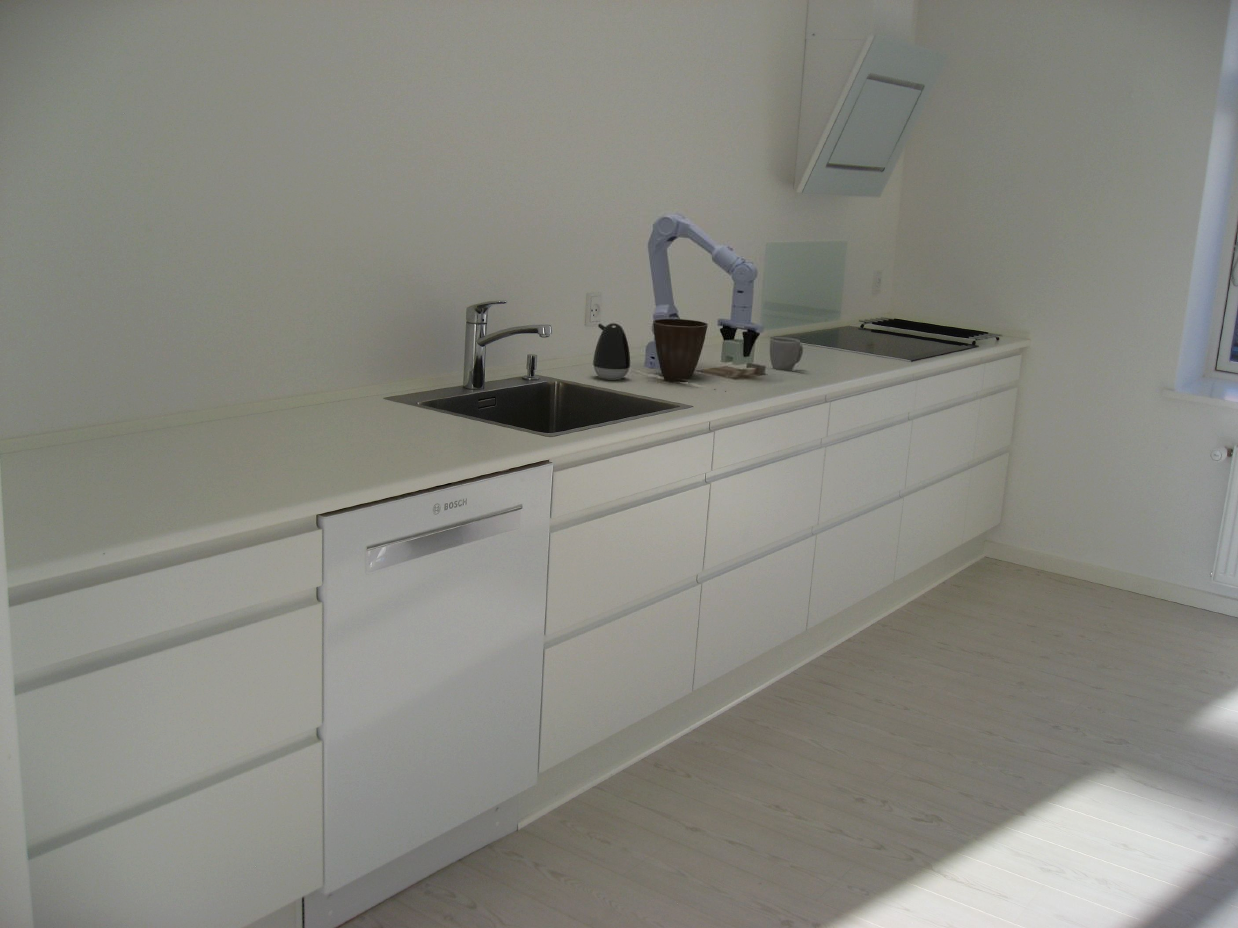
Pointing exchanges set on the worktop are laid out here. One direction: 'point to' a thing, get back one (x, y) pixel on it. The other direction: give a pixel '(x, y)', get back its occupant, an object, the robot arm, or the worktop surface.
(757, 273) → the robot arm
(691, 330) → the plant pot
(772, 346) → the mug
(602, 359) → the pump dispenser
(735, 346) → the cabinet block
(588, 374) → the worktop surface
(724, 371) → the cleat board
